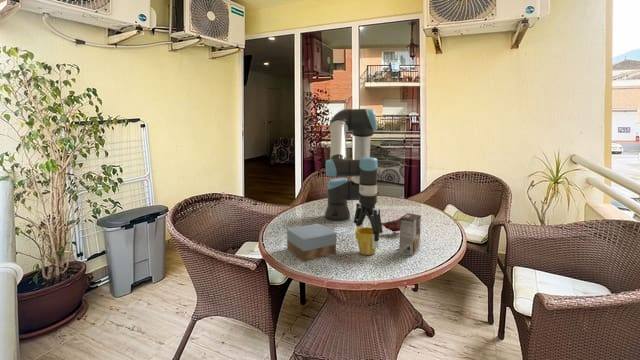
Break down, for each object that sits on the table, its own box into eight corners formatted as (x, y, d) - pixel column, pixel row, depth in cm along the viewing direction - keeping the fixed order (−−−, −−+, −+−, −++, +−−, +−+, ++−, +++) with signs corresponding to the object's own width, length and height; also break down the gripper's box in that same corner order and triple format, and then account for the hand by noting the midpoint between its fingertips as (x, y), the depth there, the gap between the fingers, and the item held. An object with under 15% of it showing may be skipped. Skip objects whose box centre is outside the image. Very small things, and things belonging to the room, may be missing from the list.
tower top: (317, 233, 163) (317, 223, 162) (336, 244, 150) (336, 233, 149) (287, 239, 155) (286, 229, 154) (303, 251, 142) (303, 239, 141)
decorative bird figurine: (410, 235, 172) (411, 216, 171) (374, 234, 175) (374, 215, 174) (409, 233, 175) (410, 214, 173) (374, 232, 178) (375, 213, 176)
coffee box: (406, 247, 157) (407, 212, 155) (420, 249, 154) (421, 214, 151) (398, 253, 150) (399, 217, 147) (412, 256, 146) (414, 219, 144)
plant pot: (353, 248, 156) (353, 227, 154) (375, 247, 157) (376, 226, 155) (357, 257, 146) (357, 235, 144) (381, 256, 146) (382, 234, 145)
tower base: (318, 243, 164) (318, 233, 163) (335, 255, 150) (335, 244, 150) (287, 250, 157) (287, 239, 156) (303, 262, 143) (302, 251, 142)
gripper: (345, 190, 154) (345, 237, 158) (377, 200, 135) (376, 254, 139) (359, 188, 158) (359, 234, 162) (392, 198, 138) (391, 250, 142)
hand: (367, 243), depth 150 cm, fingers closed on plant pot, 10 cm apart
